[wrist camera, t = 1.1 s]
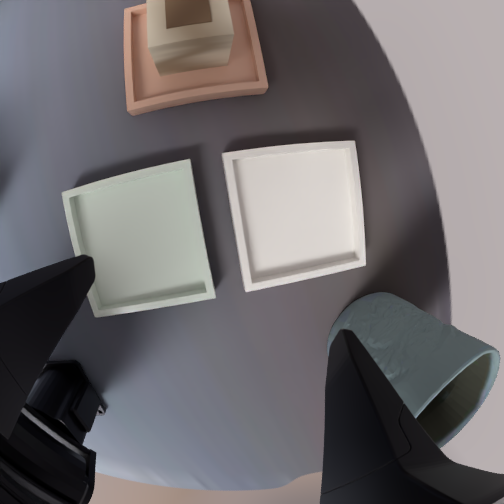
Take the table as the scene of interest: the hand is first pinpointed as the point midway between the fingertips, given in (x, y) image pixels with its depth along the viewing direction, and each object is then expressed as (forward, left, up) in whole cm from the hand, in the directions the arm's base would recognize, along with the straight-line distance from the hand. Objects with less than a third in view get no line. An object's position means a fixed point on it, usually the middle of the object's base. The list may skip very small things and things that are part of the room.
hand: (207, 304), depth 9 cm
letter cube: (+1, +14, -9) cm, 17 cm away
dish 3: (+6, +1, -10) cm, 12 cm away
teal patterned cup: (+12, -11, -10) cm, 20 cm away
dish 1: (+1, +14, -10) cm, 17 cm away
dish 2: (-5, +1, -10) cm, 11 cm away
